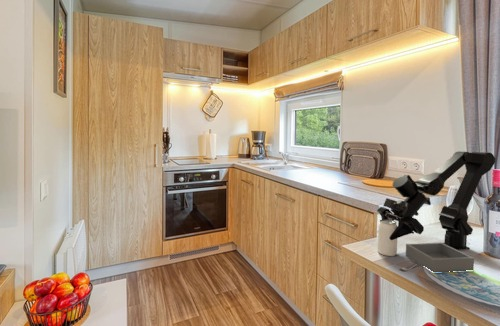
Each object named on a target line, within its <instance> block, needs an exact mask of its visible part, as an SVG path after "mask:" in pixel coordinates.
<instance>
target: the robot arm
mask: <svg viewBox="0 0 500 326" xmlns="http://www.w3.org/2000/svg"><path fill="white" fill-rule="evenodd" d="M495 163H496V158H495V155H494V154H493V153H492V152H485V151H484V152H483V151H481V152H480V151H472V152H468V151H456V152H454V153H453V155H452V156H451V157H450V158H449V159H447V160H446V161H445V162H444V163H443V164H442V165H440V166H439V167H437V169H436V170H435V171H433V172H431V173H429V174H425V175H424V176H422V177H420V178H419V179H417V180H416V181H414V179H412V177H411V176H410V175H409V174H404V175H403V176H400V177H397V178H396V179H394V181H393V182H392V187H393V188H394V189H395V190H396V191H397V193H399V195H400V196H402V197H403V198H405V199H404V200H402V199H399V200H395V199H391V198H386V199H385V200H384V203H383V206H380V207H378V209H376V212H377V213H379V215H380V218H381V220H392V221H395V222H398V223H397V228H396V229H395V231H394V232H393V233H392V234H391V236H390V238H389V239H390V240H394V239H396V238H397V239H398V238H401V237H404V236H407V235H411V234H412V235H414V234H415V233H416V234H418V235H422V233H423V232H424V231H425V230H424V227H425V226H423V224H422V223H421V222H420V221H419V220H418V219H417V218H415V217H414V216H416V217H417V216H419V212H418V211H419V210H420V209H421V208H422V207H423V206H424V205H428V206H431V204H432V202H431V198H430V197H429V196H437V195H438V194H439V193H440V192H441V191H442V190H443V188H444V186H445V182H446V181H447V180H448V179H450V178H451V177H452V176H454V174H455V173H456V172H458V171H459V170H460V169H461V168H462V167H465V170H466V172H465V174H464V176H463V178H462V181H461V182H460V184H459V186H458V189H457V191H456V193H455V195H454V198H453V200H452V203H451V204H450V205H448V206H446V205H443V206H442V208H441V211H440V213H439V214H438V216H439V217H438V220H439V222H440V225H441V229H444V230H445V234H444V242H442V243H443V244H446V245H448V246H450V247H452V248H454V249H456V250H458V251H460V250H470V247H468V246H467V242H468V241H467V240H468V239H467V238H468V237H467V236H469V235H470V236H471V235H472V234H473V231H474V229H473V227H472V226H471V225H470V224H469V223H468V220H469V215H468V207H469V205H470V203H471V201H472V198H473V196H474V194H475V193H476V190H477V188H478V185H479V183H480V181H481V179H482V176H484V175H485V174H487V173H488V172H490V171H491V170H492V168H493V166H494V165H495ZM426 195H428V197H427V196H426Z"/></svg>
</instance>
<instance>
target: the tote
mask: <svg viewBox="0 0 500 326" xmlns="http://www.w3.org/2000/svg"><path fill="white" fill-rule="evenodd" d="M443 243H444V242H425V243H424V242H423V243H422V242H419V243H406V244H405V257H406V258H408V259H410V260H411V261H412V262H414V263H416V264H418V265H419V266H421V267H422V268H424V267H423V266H425V267H427V268H428V269H430V270H431V271H433V272H449V271H450V272H453V271H466V270H473V271H474V269H475V268H474V264H475V257H473V256H471V255H468V254H466V253H464V252H463V251H460V250H456V249H454V248H452V247H450V246H448V245H446V244H443Z"/></svg>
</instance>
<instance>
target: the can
mask: <svg viewBox="0 0 500 326" xmlns="http://www.w3.org/2000/svg"><path fill="white" fill-rule="evenodd" d="M397 227H398V224H397V221H396V220H394V221H392V220H382V219H379V223H378V226H377V228H378V229H377V253H379V254H380V255H382V256H386V257H394V256H397V254H398V238H396V239H394V240H390V239H389V238H390V236H391V234H392V233H393V232H394V231H395V229H396V228H397Z"/></svg>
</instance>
